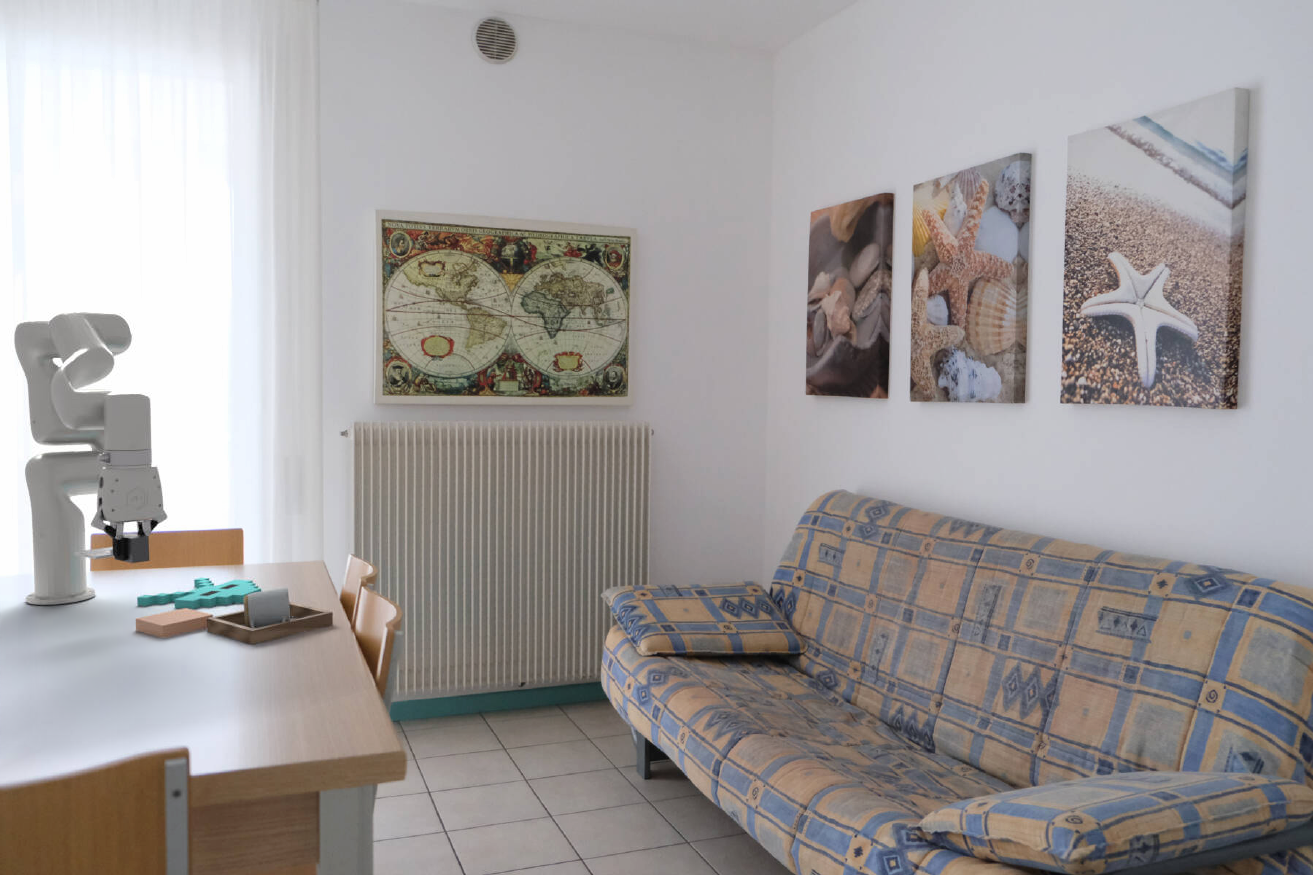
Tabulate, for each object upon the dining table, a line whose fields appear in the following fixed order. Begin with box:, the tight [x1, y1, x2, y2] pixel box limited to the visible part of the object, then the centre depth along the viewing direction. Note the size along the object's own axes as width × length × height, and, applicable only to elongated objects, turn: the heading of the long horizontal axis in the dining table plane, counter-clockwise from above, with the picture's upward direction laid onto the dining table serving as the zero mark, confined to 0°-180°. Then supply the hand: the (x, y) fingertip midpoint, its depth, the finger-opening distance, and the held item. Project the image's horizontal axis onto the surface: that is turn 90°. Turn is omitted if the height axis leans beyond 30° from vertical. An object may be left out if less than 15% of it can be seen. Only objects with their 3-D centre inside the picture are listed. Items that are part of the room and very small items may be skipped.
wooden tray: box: [206, 601, 334, 645], centre depth 183 cm, size 15×17×2 cm
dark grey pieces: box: [74, 532, 150, 564], centre depth 180 cm, size 19×7×4 cm, turn 53°
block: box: [135, 608, 214, 639], centre depth 183 cm, size 3×10×9 cm
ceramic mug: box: [243, 587, 291, 629], centre depth 181 cm, size 11×8×8 cm
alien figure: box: [136, 577, 262, 610], centre depth 208 cm, size 20×2×20 cm
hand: (131, 557), depth 176 cm, fingers closed on dark grey pieces, 3 cm apart
